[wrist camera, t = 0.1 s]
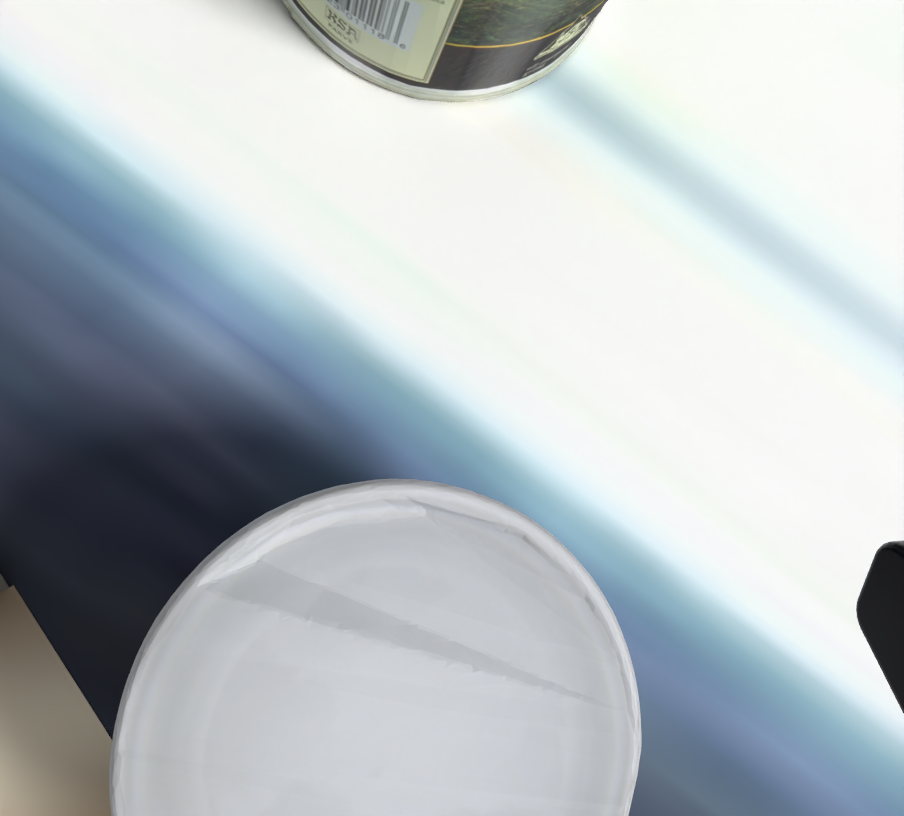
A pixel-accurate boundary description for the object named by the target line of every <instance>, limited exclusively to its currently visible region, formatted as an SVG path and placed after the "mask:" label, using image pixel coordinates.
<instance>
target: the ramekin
mask: <svg viewBox="0 0 904 816" xmlns="http://www.w3.org/2000/svg"><path fill="white" fill-rule="evenodd" d="M640 753H641V715H640V705H639V697H638V689H637V684H636V679H635V674H634V669H633V666H632V662H631V658H630V654H629V651H628V648H627V645H626V642H625V640H624V637H623V634H622V631H621V629H620V627H619V624H618V622H617V619H616V617H615V615H614V613H613V611H612V609H611V607H610V605H609V604H608V602H607V600H606V598H605V597H604V595H603V593H602V592H601V590H600V589H599V587H598V586H597V584H596V583H595V581H594V580H593V578H592V577H591V576H590V575H589V573H588V572H587V571H586V570H585V568H584V567H583V566H582V565H581V564H580V563H579V561H578V560H577V559H576V558H575V557H574V556H573V554H572V553H571V552H570V551H569V550H568V549H567V548H566V547H565V546H564V545H563V544H562V543H560V542H559V541H558V540H557V539H556V538H555V537H554V536H553V535H552V534H551V533H550V532H548V531H547V530H545V529H544V528H543V527H541V526H540V525H539V524H537V523H536V522H534V521H533V520H532V519H530V518H529V517H527V516H525V515H524V514H522V513H520V512H519V511H517V510H515V509H513V508H511V507H509V506H507V505H505V504H503V503H501V502H498V501H496V500H494V499H491V498H489V497H486V496H484V495H481V494H478V493H475V492H473V491H470V490H466V489H463V488H459V487H455V486H451V485H447V484H442V483H437V482H432V481H424V480H416V479H378V480H370V481H363V482H356V483H350V484H345V485H339V486H335V487H331V488H327V489H324V490H320V491H317V492H314V493H311V494H308V495H305V496H302V497H300V498H297V499H295V500H293V501H290V502H288V503H286V504H284V505H282V506H279V507H277V508H275V509H273V510H271V511H269V512H267V513H265V514H264V515H262V516H260V517H259V518H257V519H255V520H254V521H252V522H251V523H249V524H248V525H246V526H245V527H243V528H242V529H240V530H239V531H237V532H236V533H235V534H233V535H232V536H231V537H229V538H228V539H227V540H225V541H224V542H223V543H222V544H220V545H219V546H218V547H217V548H216V549H215V550H214V551H212V552H211V553H210V554H209V555H208V556H207V557H206V558H205V559H204V560H203V561H202V562H201V563H200V564H199V565H198V566H197V567H196V568H195V569H194V570H193V571H192V572H191V574H190V575H189V576H188V577H187V578H186V579H185V580H184V581H183V582H182V584H181V585H180V586H179V587H178V589H177V590H176V591H175V592H174V594H173V595H172V596H171V597H170V599H169V600H168V602H167V603H166V605H165V606H164V607H163V609H162V610H161V612H160V613H159V615H158V616H157V618H156V619H155V621H154V622H153V624H152V626H151V628H150V630H149V631H148V633H147V635H146V637H145V639H144V641H143V643H142V645H141V647H140V649H139V651H138V654H137V656H136V658H135V660H134V663H133V666H132V668H131V671H130V673H129V676H128V679H127V681H126V685H125V688H124V691H123V694H122V697H121V701H120V705H119V709H118V713H117V718H116V722H115V727H114V733H113V740H112V746H111V753H110V767H109V791H110V807H111V816H628V814H629V810H630V805H631V801H632V796H633V792H634V788H635V783H636V778H637V774H638V766H639V759H640Z"/></svg>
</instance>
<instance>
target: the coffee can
mask: <svg viewBox="0 0 904 816" xmlns="http://www.w3.org/2000/svg"><path fill="white" fill-rule="evenodd" d="M282 1H283V3H284V4H285V6H286V7H287V9H288V10H289V12H290V14H291V17H292V18H293V19H294V20H295V21H296V22H297V23H298V24H299V25H300V26H301V28H302V29H303V30H304V31H305V32H306V33H307V34H308V35H309V36H310V37H311V38H312V39H313V40H314V41H315V42H316V43H317V44H318V45H319V46H320V47H321V48H322V49H323V50H324V51H325V52H326V53H328V54H329V55H330V56H331V57H333V58H334V59H335V60H336V61H338V62H339V63H340V64H342V65H343V66H344V67H346V68H347V69H349V70H351V71H352V72H354V73H356V74H357V75H359V76H361V77H362V78H364V79H366V80H368V81H370V82H372V83H375V84H377V85H379V86H381V87H384V88H386V89H389V90H391V91H394V92H398V93H401V94H404V95H407V96H410V97H413V98H417V99H424V100H436V101H446V102H466V101H478V100H485V99H490V98H493V97H497V96H501V95H505V94H508V93H511V92H514V91H517V90H519V89H521V88H523V87H526V86H528V85H529V84H531V83H533V82H535V81H537V80H539V79H541V78H542V77H544V76H546V75H547V74H548V73H550V72H551V71H552V70H554V69H555V68H556V67H558V66H559V65H560V64H561V63H562V62H563V61H564V60H565V59H566V58H567V57H568V56H569V55H570V54H571V53H572V52H573V51H574V50H575V48H576V47H577V46H578V44H579V43H580V42H581V40H582V39H583V38H584V36H585V35H586V33H587V32H588V31H589V29H590V27H591V25H592V23H593V21H594V19H595V17H596V16H597V14H598V13H599V12H600V11H601V9H602V7H603V6H604V4H605V3H606V2H607V1H608V0H282Z"/></svg>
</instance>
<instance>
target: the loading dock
mask: <svg viewBox="0 0 904 816" xmlns="http://www.w3.org/2000/svg"><path fill="white" fill-rule="evenodd" d="M111 746H112V739H111V738H110V736H109V735H108V733H107V731H106V730H105V728H104V727H103V725H102V724H101V722H100V720H99V719H98V717H97V716H96V714H95V713H94V711H93V709H92V708H91V706H90V705H89V703H88V702H87V700H86V698H85V697H84V695H83V694H82V692H81V691H80V689H79V687H78V686H77V684H76V683H75V681H74V680H73V678H72V676H71V675H70V673H69V672H68V670H67V669H66V667H65V665H64V664H63V662H62V661H61V659H60V658H59V656H58V654H57V653H56V651H55V650H54V648H53V647H52V645H51V643H50V642H49V640H48V639H47V637H46V636H45V634H44V632H43V631H42V629H41V628H40V626H39V625H38V623H37V621H36V620H35V618H34V617H33V615H32V613H31V612H30V610H29V609H28V607H27V606H26V604H25V602H24V601H23V599H22V598H21V596H20V595H19V593H18V591H17V590H16V588H15V587H14V585H13V586H11V587H9V586H8V585H7V583H6V582H5V580H4V578H3V577H2V575H1V574H0V816H111V807H110V791H109V767H110V753H111Z"/></svg>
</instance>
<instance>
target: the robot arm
mask: <svg viewBox="0 0 904 816" xmlns="http://www.w3.org/2000/svg"><path fill="white" fill-rule="evenodd" d="M856 611H857V618H858V622H859V625H860V627H861V630H862V632H863V634H864V636H865V638H866V640H867V642H868V644H869V646H870V648H871V650H872V652H873V653H874V655H875V657H876V659H877V661H878V663H879V665H880V667H881V669H882V671H883V673H884V675H885V677H886V679H887V681H888V683H889V685H890V687H891V689H892V691H893V693H894V695H895V697H896V699H897V701H898V703H899V705H900V707H901V709H902V711H903V713H904V541H893V542H888V543H885V544H883V545H882V546H881V547H880V548H879V549H878V550H877V552H876V554H875V556H874V559H873V562H872V564H871V567H870V569H869V572H868V574H867V577H866V580H865V582H864V585H863V587H862V590H861V592H860V595H859V598H858V601H857V608H856Z"/></svg>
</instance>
